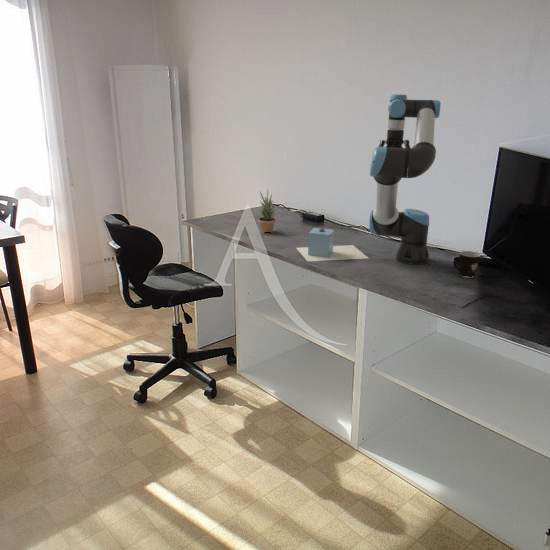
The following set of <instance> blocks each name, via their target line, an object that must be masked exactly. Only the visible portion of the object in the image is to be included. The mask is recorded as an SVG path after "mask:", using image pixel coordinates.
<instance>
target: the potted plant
mask: <svg viewBox="0 0 550 550" xmlns="http://www.w3.org/2000/svg"><path fill="white" fill-rule="evenodd" d="M266 191H267V193H266V196H264V197H263V194H262V192H261V191H259V194H260V196H261V200H262V201H261V200H260V204H261V206H262V208H260V209H258V210H259V212H260V213H261V215H262V217H258V219H257V220H258V223H259V226H260V230H261V233H263V232H271V233H272V232H273V230H274V227H275V224H276V218H275V217H274V215H275V206H276V204H274V205H273V202H274V201H273V200H272V196H273V195H272V193H271V194H270V197H269V188H267V190H266ZM261 209H262V210H261Z"/></svg>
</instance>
